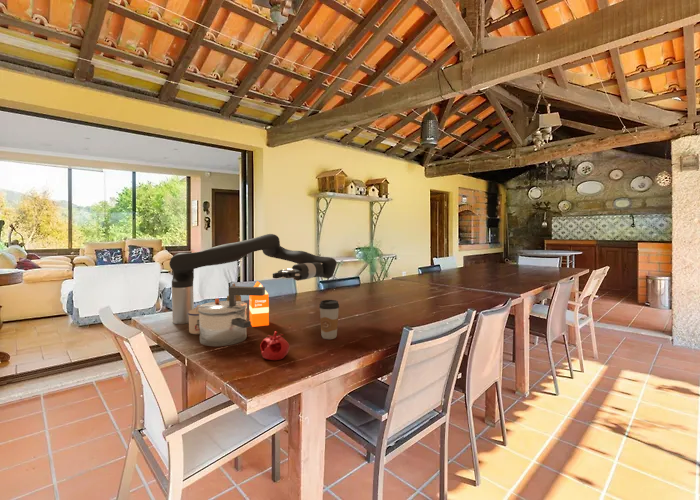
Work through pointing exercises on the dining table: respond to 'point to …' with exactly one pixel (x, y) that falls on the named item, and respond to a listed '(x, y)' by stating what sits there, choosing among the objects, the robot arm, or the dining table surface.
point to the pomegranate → (274, 347)
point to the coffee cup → (329, 318)
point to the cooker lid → (231, 301)
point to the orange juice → (259, 308)
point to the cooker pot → (223, 328)
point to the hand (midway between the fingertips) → (273, 275)
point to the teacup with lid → (194, 321)
